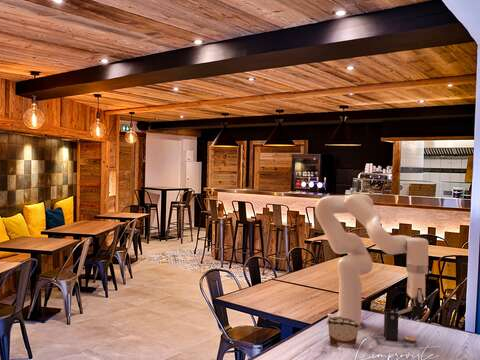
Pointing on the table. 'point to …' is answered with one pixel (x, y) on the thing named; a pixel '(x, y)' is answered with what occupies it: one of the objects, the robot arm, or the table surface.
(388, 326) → the black upright box
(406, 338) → the cake
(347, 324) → the food container
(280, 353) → the table surface
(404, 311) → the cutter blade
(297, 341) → the table surface
